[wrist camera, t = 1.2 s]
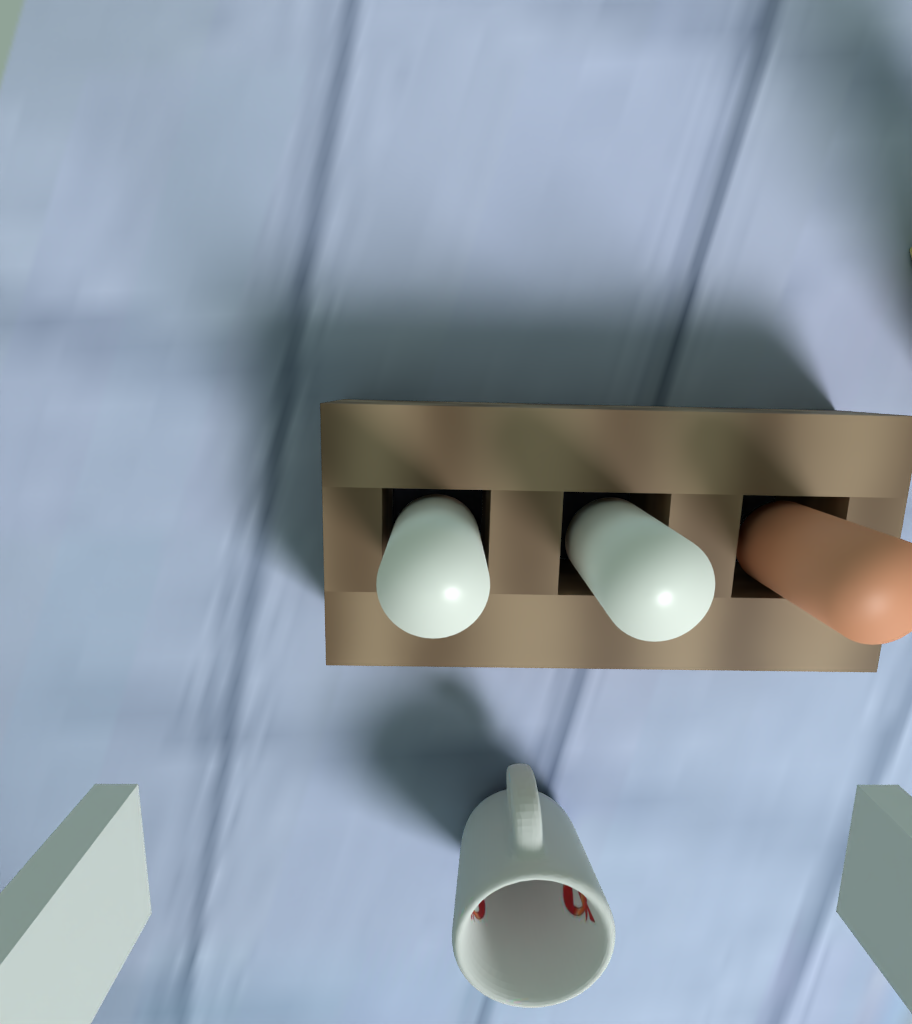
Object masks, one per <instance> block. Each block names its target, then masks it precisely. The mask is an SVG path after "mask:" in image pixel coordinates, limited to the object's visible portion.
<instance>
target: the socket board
mask: <svg viewBox="0 0 912 1024" xmlns="http://www.w3.org/2000/svg"><path fill="white" fill-rule="evenodd" d="M320 414H321V459H322V504H323V549H324V594H325V639H326V665H354V666H431V667H509V668H586V669H664V670H741V671H818V672H877V668H878V662H879V656H880V650H881V645H882V644H876V645H870V644H862V643H858V642H855V641H852V640H850V639H848V638H846V637H845V636H843V635H842V634H840V633H838V632H837V631H835V630H834V629H832V628H831V627H829V626H827V625H826V624H824V623H823V622H821V621H820V620H818V619H816V618H815V617H813V616H812V615H810V614H809V613H807V612H805V611H804V610H802V609H801V608H799V607H798V606H796V605H794V604H793V603H791V602H790V601H788V600H787V599H785V598H783V597H782V596H780V595H779V594H777V593H776V592H774V591H772V590H771V589H769V588H768V587H766V586H765V585H763V584H761V583H760V582H758V581H757V580H755V579H754V578H752V577H751V576H749V575H748V574H747V573H746V572H745V571H744V570H743V569H742V567H741V566H740V564H739V562H735V559H736V551H737V543H738V535H739V526H740V518H741V510H742V501H743V495H771V496H776V501H791V502H795V503H798V504H801V505H804V506H807V507H809V508H812V509H815V510H818V511H821V512H824V513H827V514H830V515H833V516H836V517H838V518H841V519H844V520H847V521H850V522H853V523H856V524H859V525H862V526H865V527H868V528H870V529H873V530H876V531H879V532H882V533H885V534H888V535H891V536H894V537H897V538H899V539H900V537H901V531H902V525H903V520H904V514H905V508H906V503H907V497H908V491H909V486H910V480H911V474H912V416H906V415H892V414H878V413H865V412H851V411H837V410H796V409H751V408H707V407H662V406H618V405H573V404H529V403H484V402H440V401H395V400H350V399H342V400H336V401H330V402H325V403H320ZM393 488H408V489H460V490H482V516H481V541H482V546H483V550H484V554H485V559H486V563H487V567H488V572H489V577H490V592H489V597H488V601H487V603H486V606H485V608H484V610H483V611H482V613H481V614H480V616H479V617H478V618H477V619H476V620H475V622H474V623H473V624H471V625H470V626H469V627H468V628H466V629H465V630H463V631H461V632H459V633H457V634H455V635H452V636H449V637H444V638H434V639H432V638H423V637H418V636H415V635H412V634H409V633H407V632H405V631H404V630H402V629H400V628H399V627H398V626H396V625H395V624H394V623H393V622H392V621H391V620H390V619H389V618H388V616H387V615H386V614H385V612H384V611H383V609H382V607H381V605H380V602H379V599H378V595H377V587H376V581H377V574H378V569H379V567H380V564H381V561H382V558H383V555H384V552H385V550H386V547H387V544H388V541H389V538H390V535H391V533H392V530H393ZM564 492H615V493H630V499H629V502H631V503H632V504H634V505H635V506H637V507H639V508H640V509H642V510H643V511H645V512H646V513H648V514H649V515H651V516H652V517H654V518H656V519H657V520H659V521H660V522H662V523H663V524H665V525H666V526H668V527H669V528H671V529H673V530H674V531H676V532H677V533H679V534H680V535H682V536H683V537H685V538H686V539H688V540H689V541H691V542H693V543H694V544H695V545H697V546H698V547H699V548H700V549H701V550H702V551H703V552H704V553H705V555H706V556H707V557H708V559H709V561H710V563H711V565H712V568H713V571H714V576H715V592H714V597H713V600H712V603H711V605H710V608H709V610H708V611H707V613H706V615H705V616H704V617H703V619H702V620H701V621H700V622H699V623H698V624H697V625H696V626H695V627H694V628H692V629H691V630H690V631H688V632H687V633H685V634H683V635H681V636H679V637H677V638H674V639H670V640H666V641H657V642H652V641H644V640H639V639H637V638H634V637H632V636H630V635H628V634H626V633H624V632H623V631H622V630H620V629H619V628H618V627H617V626H616V625H615V624H614V622H613V621H612V620H611V618H610V617H609V616H608V614H607V613H606V611H605V610H604V608H603V607H602V606H601V604H600V603H599V601H598V600H597V599H596V597H595V596H594V594H593V593H592V591H591V590H590V589H589V587H588V586H587V584H586V583H585V581H584V580H583V579H582V577H581V576H580V574H579V573H578V571H577V570H576V569H575V567H574V566H573V564H572V563H571V561H570V559H560V545H561V528H562V512H563V495H564Z"/></svg>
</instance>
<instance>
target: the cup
mask: <svg viewBox="0 0 912 1024" xmlns="http://www.w3.org/2000/svg"><path fill="white" fill-rule="evenodd" d="M506 780H507V789H506V790H502V791H499V792H497V793H494V794H492V795H491V796H489V797H487V798H486V799H484V800H483V801H482V802H481V803H480V804H479V805H478V806H477V807H476V808H475V809H474V810H473V812H472V813H471V815H470V817H469V818H468V821H467V823H466V825H465V828H464V832H463V836H462V841H461V848H460V858H459V868H458V878H457V888H456V898H455V908H454V918H453V928H452V944H453V951H454V955H455V958H456V961H457V964H458V966H459V968H460V970H461V972H462V973H463V975H464V976H465V978H466V979H467V980H468V981H469V982H470V984H472V985H473V986H474V987H475V988H476V989H477V990H478V991H480V992H481V993H483V994H484V995H485V996H487V997H489V998H491V999H493V1000H495V1001H498V1002H500V1003H503V1004H507V1005H511V1006H516V1007H524V1008H537V1007H545V1006H551V1005H555V1004H559V1003H562V1002H565V1001H567V1000H569V999H571V998H574V997H576V996H578V995H579V994H581V993H582V992H584V991H585V990H586V989H588V988H589V987H590V986H591V985H592V984H593V983H594V982H595V981H596V980H597V979H598V978H599V977H600V976H601V974H602V973H603V972H604V970H605V969H606V967H607V965H608V963H609V961H610V959H611V956H612V953H613V949H614V944H615V925H614V920H613V916H612V913H611V910H610V907H609V905H608V902H607V900H606V898H605V896H604V893H603V891H602V889H601V887H600V884H599V882H598V880H597V878H596V876H595V873H594V871H593V869H592V867H591V864H590V862H589V860H588V858H587V855H586V853H585V851H584V849H583V846H582V844H581V842H580V840H579V837H578V835H577V833H576V831H575V828H574V826H573V824H572V822H571V821H570V819H569V817H568V816H567V814H566V813H565V811H564V810H563V809H562V808H561V807H560V806H559V805H558V804H557V803H556V802H555V801H554V800H553V799H551V798H550V797H548V796H547V795H545V794H543V793H541V792H538V790H537V785H536V780H535V777H534V774H533V771H532V769H531V767H530V766H529V765H527V764H512V765H510V766H509V767H508V768H507V772H506Z"/></svg>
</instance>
